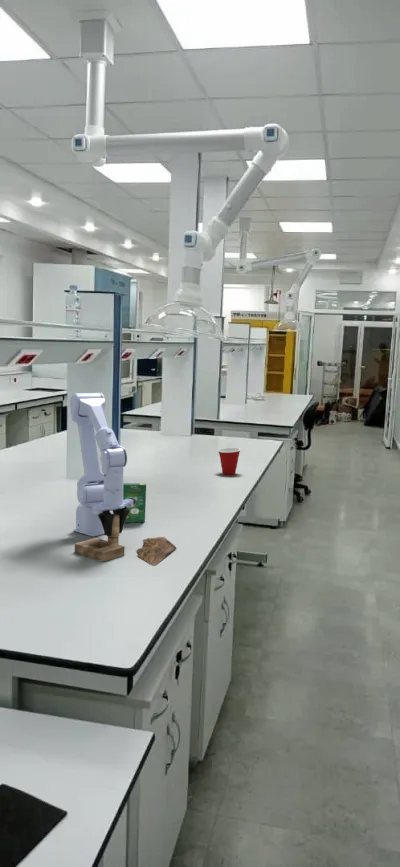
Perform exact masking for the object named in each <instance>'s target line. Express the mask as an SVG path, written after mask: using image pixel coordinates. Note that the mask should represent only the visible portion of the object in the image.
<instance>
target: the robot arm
mask: <svg viewBox="0 0 400 867" xmlns="http://www.w3.org/2000/svg"><path fill="white" fill-rule="evenodd" d="M69 400H70V402H69V407H70V415H71V417H72V418H71V419H72V421H73V422H75V423H76V424H77V429H78V436H79V443H80V451H81V457H82V465H83V472H84V474H83V475H82V477H80V478H79V479H78V481H77V483H76V488H77V490H76V498H77V502H79V504H78V506H76V509H75V510H76V511H75V528H73V531H74V532H76V533H80V534H83V535H87V536H89V537H93V538H95V537H97V536H100V535H104V536H107V537H108V536H111V534H112V523H113V518H114V516H115V515H114V514H118V515H119V534H122V532H123V529H124V528H123V527H124V525H125V523H124V522H125V519H126V517H127V515H128V514H129V509H127V508H126V507H128V506H130V507H132V506H133V500H131V499H126V500H123V483H124V468H125V467H126V466H127V462H128V454H127V450H126V448H125V447H124V446H122V444H119V442H118V440H117V439H118V438H117V437H116V433H115V432H114V430H113V429H112V428H109V426H108V423H107V419H106V416H105V409H106V397H105V395H104V394H103V392H79V393H78V392H74V393H72V395H71V397H70V399H69ZM95 431H96V433H95ZM97 446H98V448H99V452H100V457H99V454H98V449H97ZM99 459H100V462H99ZM100 464H101V467H100ZM100 468H101V469H100ZM101 472H102V473H101ZM111 511H112V512H111Z"/></svg>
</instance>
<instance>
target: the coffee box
mask: <svg viewBox="0 0 400 867" xmlns="http://www.w3.org/2000/svg"><path fill="white" fill-rule="evenodd" d="M126 499H131V500H133V506H132V507H130V506H128V507H126V508H127V509H129V514H128V515H127V517H126V519H125V522H124V524H128V523H145V522H146V502H147V484H146V483H144V482H143V483H142V482H138V483H136V482H135V483H133V482H131V483H128V482H127V483H125V482H123V500H126Z"/></svg>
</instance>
